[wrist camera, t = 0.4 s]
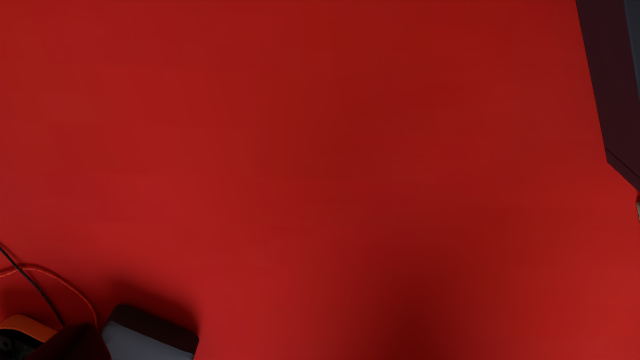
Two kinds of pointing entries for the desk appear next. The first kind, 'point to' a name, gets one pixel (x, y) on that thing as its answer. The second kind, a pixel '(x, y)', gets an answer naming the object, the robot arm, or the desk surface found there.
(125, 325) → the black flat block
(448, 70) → the desk surface
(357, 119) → the desk surface
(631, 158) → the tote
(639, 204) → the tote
